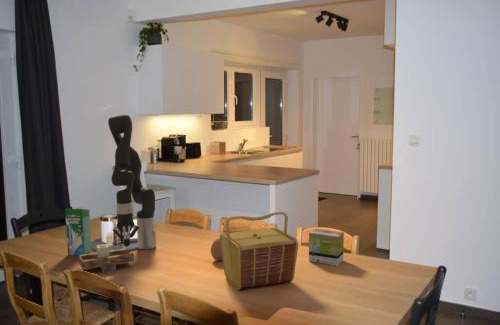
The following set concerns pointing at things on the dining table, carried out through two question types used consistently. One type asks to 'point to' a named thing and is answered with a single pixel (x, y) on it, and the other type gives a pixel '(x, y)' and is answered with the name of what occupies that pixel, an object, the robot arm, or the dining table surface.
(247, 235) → the picnic basket
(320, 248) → the tea box
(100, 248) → the block
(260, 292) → the dining table surface
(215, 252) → the egg
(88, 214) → the milk carton
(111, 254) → the beam
